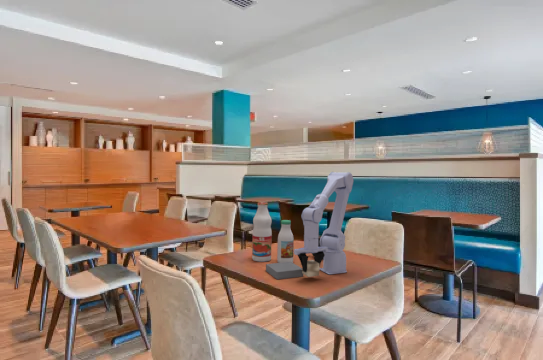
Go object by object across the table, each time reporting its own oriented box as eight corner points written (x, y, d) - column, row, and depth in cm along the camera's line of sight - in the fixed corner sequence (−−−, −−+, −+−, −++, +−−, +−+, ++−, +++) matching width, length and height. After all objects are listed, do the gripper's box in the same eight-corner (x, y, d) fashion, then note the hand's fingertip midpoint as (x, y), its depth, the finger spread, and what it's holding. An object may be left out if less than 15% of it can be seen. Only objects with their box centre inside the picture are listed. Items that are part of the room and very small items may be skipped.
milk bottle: (274, 263, 155) (275, 221, 154) (280, 259, 162) (281, 218, 161) (290, 265, 152) (291, 222, 151) (295, 261, 159) (296, 220, 158)
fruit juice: (272, 257, 165) (273, 202, 164) (270, 262, 155) (271, 203, 155) (253, 256, 166) (254, 201, 165) (250, 261, 156) (251, 203, 156)
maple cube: (312, 271, 136) (313, 260, 136) (319, 275, 131) (319, 263, 131) (302, 273, 134) (302, 261, 134) (308, 277, 129) (308, 264, 129)
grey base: (290, 268, 147) (290, 261, 147) (303, 276, 136) (303, 269, 136) (265, 270, 142) (266, 264, 142) (277, 279, 131) (277, 272, 131)
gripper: (300, 240, 125) (299, 275, 126) (332, 238, 131) (331, 271, 132) (291, 237, 132) (291, 270, 132) (322, 234, 138) (322, 266, 138)
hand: (310, 270), depth 132 cm, fingers closed on maple cube, 5 cm apart
